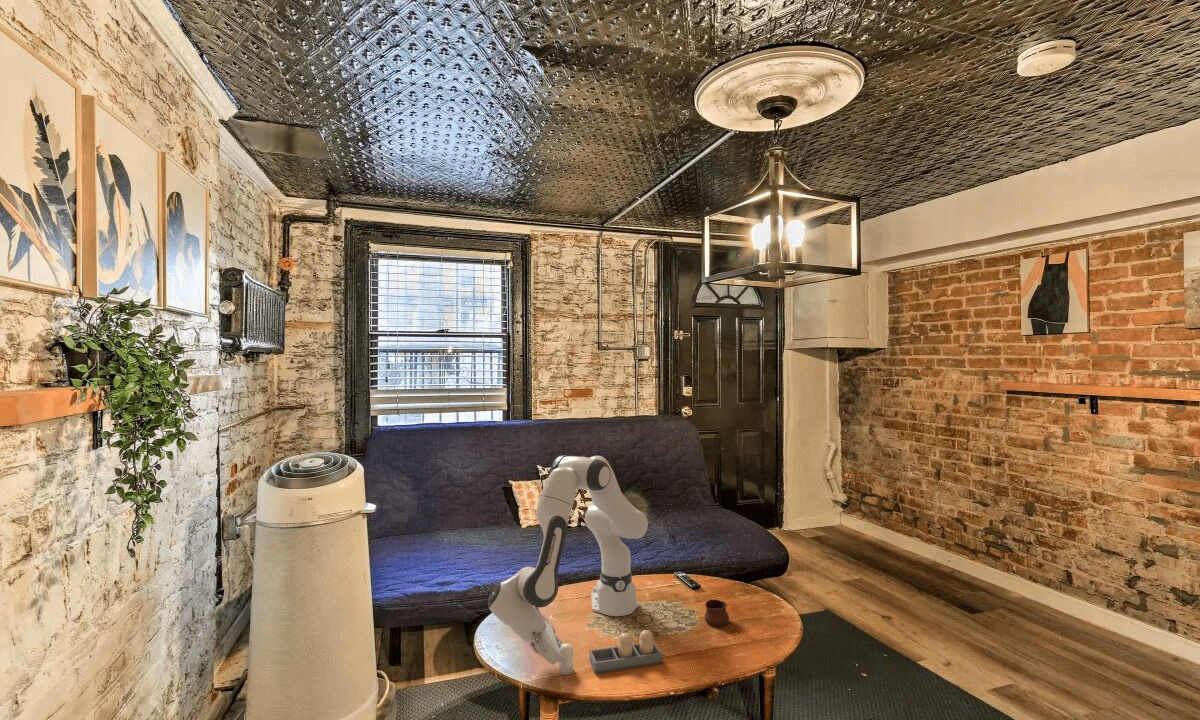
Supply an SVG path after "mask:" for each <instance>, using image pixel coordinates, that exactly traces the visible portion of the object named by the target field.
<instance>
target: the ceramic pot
mask: <svg viewBox="0 0 1200 720" xmlns="http://www.w3.org/2000/svg"><path fill="white" fill-rule="evenodd" d="M704 605H705V608H706V610H705V613H704V619H705V620H704V621H705V622H706V624H707V625H709V626H711V627H713V628H724V627H726V626H727V625H728V623H729V620H730V616H729V613H728V612H727V607H728V604H727V603H726V602H725V601H723V600H719V599H708V600H707V601H706V602H705V604H704Z"/></svg>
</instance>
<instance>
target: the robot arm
mask: <svg viewBox="0 0 1200 720" xmlns="http://www.w3.org/2000/svg"><path fill="white" fill-rule="evenodd" d="M577 490H586V491H588V494H589V496H590V498H591V500H592V503H593V504H592V505H590V506H589V507H588V508H587V510H586V511H585V514H584V515H585V516H584V522H585V525H586V527H587V528H588V529H589V530H590V532H591V533H592V534H593V535H594V537H595V539H596V541H597V543H598V547H599V549H600V557H601V571H600V572H599V573H600V575H599V580H597V582H596V586H592V591H591V593H590V599H591V611H592V612H594V613H600V614H603V615H606V616H609V617H624V616H628V615H630V614H632V613H634V611H636V609H637V608H639V607H640V606H641V603H640V601H638V599H637V590H636V587H637V586H636V585H635V583H634V582H633V573H632V570H631V551H630V549H629V547H628V546H627V545H626V544H625V543H624V542H623V541H622V539H621V538H623V539H628V540H630V539H631V540H634V539H635V540H636V539H641V538H643V537H644V536H645V534H646V532H647V529H648V525H649V523H648V518H647V515H645V513H644V512H642V511H641V510H639V509H638V508H636V507H635V506H634V505H633V504H632V503H631V502H630V501H629V500H628V499H627V497H626V496H625V495H624V494H623V492H622V491H621V488H620V486H619V483H618V480H617V477H616V474H615V473H614V470H613V469H612V466H611V465H610V463H609V462H608V460H607V459H606V458H605V457H603V456H602V455H593V456H590V457H587V456H576V455H568V454H567V455H559V456H558V457H556V458H555V459H554V460H553V462H552V464H551V466H550V474H549V475H548V477H547V479H546V481H545V484H544V485H543V488H542V490H541V494H540V495H539V500H538V502H537V506H536V513H535V517H536V520H537V522H538V524H539V525H540V527H541V530H542V532H543V541H542V545H541V549H540V552H539V553H540V554H539V556H538V562H537V563H536V566H535V567H534V566H524V567H523V568H522V567H521V568H520V569H518V571H517V572H516V573H515V574H513V576H511V577H509V578H508V579H506V580H503V581H501V582H497V584H496V585H494V586H493V588H492V589H491V591H490V593H489V596H488V599H487V606H488V608H489V610H490V612H491V613H492V614H493V615H494V616H495V617H496V618H497V619H499V621H500V622H502V623H503V624H505V626H509V628H511V630H512V631H513V633H514V634H516V635H517V637H519V638H520V639H521V640H523V641H524V642H525V643H530V642H532V643H533V642H534V643H533V644H534V649H535V650H536V651H537V652H538V654H540V655H541V656H542V657H543V659H544V660H546V661H547V662H548V663H549V664H550V665H555V664H556V663H557V662H558V663H559V662H561V663H562V664H563V665H565V664H566V663H567V662H568V659H567V657H566V656H565V655H562V654H561V653H560V650H559V649H560V647H561V646H562V645H563V642H562V640H561V639H559V637H558V636H557V634H556V632H555V633H554V631H553V628H552V626H553V624H552V623H551V622H550V621H549V620H548V618H546V616H545V615H544V614H543V613H542V612H541V611H540V608H545V607H547V606H549V605H550V604H551V603H553V602H554V600H556V597H557V595H558V592H559V577H558V576H559V568H560V563H561V559H562V555H563V549H564V546H565V545H564V544H565V541H566V536H567V535H566V534H567V529H568V525H569V524H568V523H569V519H570V515H571V512H572V509H573V505H574V502H575V497H576V494H577V493H576V492H577Z"/></svg>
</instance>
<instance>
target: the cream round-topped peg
mask: <svg viewBox="0 0 1200 720" xmlns="http://www.w3.org/2000/svg"><path fill="white" fill-rule="evenodd" d="M559 650H560V653H561V654H562V655H565V656H566V657H567V659H568V662H567V663H566V664H565V665H563V664H562V663H561V662H559V661H558V671H559V674H561V675H562V676H563V675H564V676H567V675H568V676H569V675H572V674H573V673H574V648H573V646H572V645H571V644H570V643H569V642H568V643H562V646H561V647H560V648H559Z"/></svg>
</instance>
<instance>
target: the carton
mask: <svg viewBox="0 0 1200 720" xmlns="http://www.w3.org/2000/svg"><path fill="white" fill-rule="evenodd" d="M638 640H639V641H638V643H633V637H632V635H630V633H628V632H623V633H621V634H619V637H618V645H617V646H610V647H603V648H597V649H590V650H589V662H590V665H591V668H592V669H593V673H594V674H595V675H597V674H602V673H608V672H609V673H610V672H615V671H623V670H630V669H634V668H641V667H649V666H654V665H662V664H663V656H662V655H663V653H662V651H660V648H659V647H658V645H657V644H656V642H655V641H654V635H653V633H652V632H651V630H649V629H644V630H642V631H641V632H640V634H639V639H638Z"/></svg>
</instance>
